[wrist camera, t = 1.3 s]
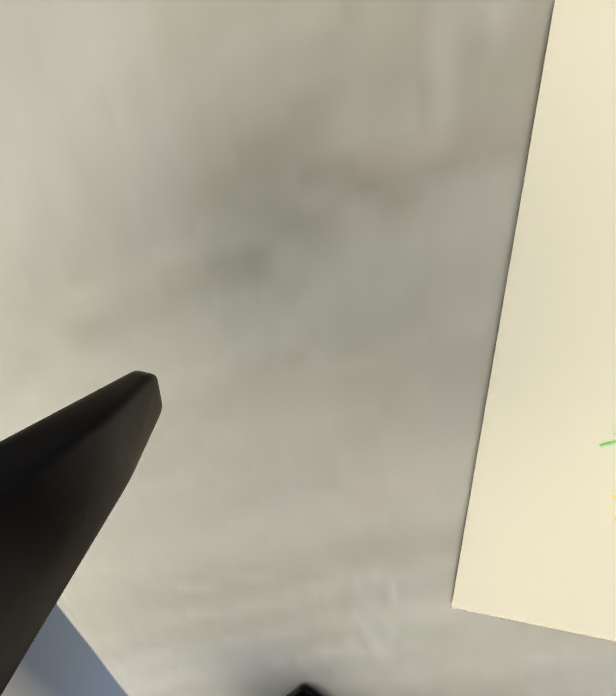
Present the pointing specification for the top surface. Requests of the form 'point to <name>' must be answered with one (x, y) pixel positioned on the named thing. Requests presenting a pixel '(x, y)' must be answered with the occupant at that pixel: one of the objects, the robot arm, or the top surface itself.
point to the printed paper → (555, 360)
